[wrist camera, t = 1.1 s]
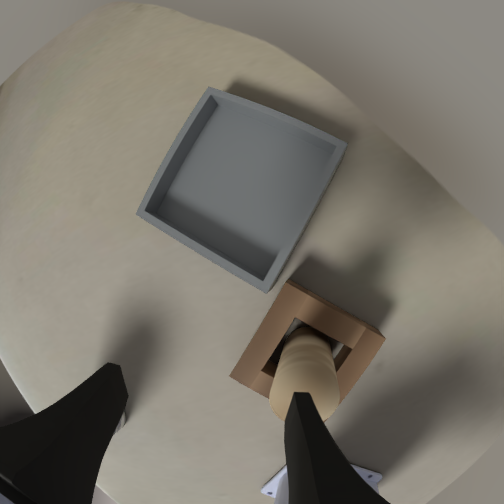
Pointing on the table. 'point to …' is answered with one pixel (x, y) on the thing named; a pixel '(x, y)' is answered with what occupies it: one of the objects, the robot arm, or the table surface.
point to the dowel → (305, 373)
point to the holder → (321, 318)
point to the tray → (241, 185)
